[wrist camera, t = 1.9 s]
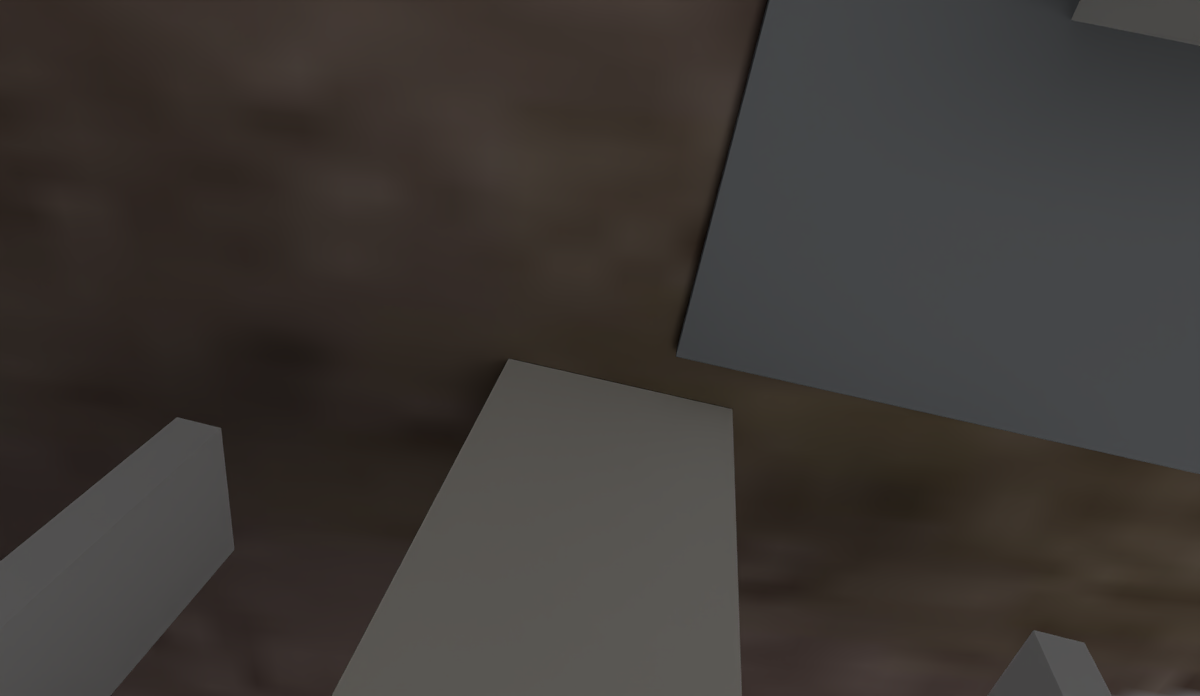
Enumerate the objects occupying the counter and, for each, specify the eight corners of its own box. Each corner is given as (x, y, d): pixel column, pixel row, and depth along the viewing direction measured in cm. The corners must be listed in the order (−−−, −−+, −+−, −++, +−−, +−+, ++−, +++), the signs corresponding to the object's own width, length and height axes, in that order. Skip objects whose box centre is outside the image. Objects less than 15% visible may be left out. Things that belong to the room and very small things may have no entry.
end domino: (501, 417, 17) (260, 925, 8) (508, 358, 16) (250, 852, 7) (713, 466, 16) (709, 1045, 8) (732, 409, 16) (751, 981, 7)
